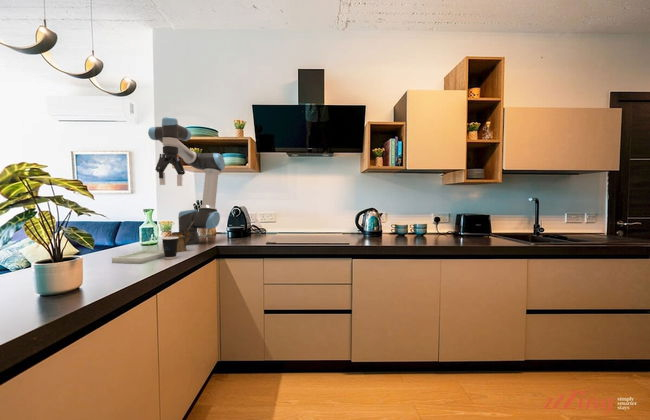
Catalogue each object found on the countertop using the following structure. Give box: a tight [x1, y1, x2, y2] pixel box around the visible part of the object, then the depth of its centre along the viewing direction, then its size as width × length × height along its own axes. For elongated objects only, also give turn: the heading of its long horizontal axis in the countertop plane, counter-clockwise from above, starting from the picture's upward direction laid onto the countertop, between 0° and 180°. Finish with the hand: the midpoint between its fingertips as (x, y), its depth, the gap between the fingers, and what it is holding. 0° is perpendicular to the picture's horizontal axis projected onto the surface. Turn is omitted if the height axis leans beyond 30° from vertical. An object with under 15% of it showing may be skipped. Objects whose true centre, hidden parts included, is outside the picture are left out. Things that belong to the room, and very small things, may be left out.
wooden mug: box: [170, 221, 194, 253], centre depth 165 cm, size 9×14×18 cm, turn 112°
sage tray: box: [111, 249, 165, 265], centre depth 143 cm, size 20×16×2 cm
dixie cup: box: [161, 236, 179, 260], centre depth 145 cm, size 8×8×11 cm
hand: (171, 185), depth 155 cm, fingers open, 13 cm apart
